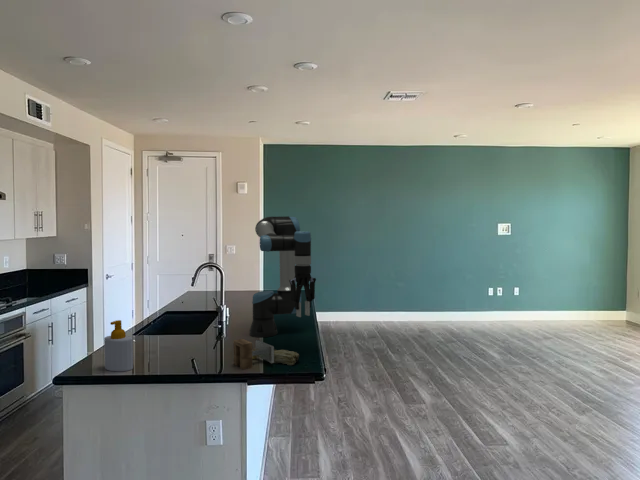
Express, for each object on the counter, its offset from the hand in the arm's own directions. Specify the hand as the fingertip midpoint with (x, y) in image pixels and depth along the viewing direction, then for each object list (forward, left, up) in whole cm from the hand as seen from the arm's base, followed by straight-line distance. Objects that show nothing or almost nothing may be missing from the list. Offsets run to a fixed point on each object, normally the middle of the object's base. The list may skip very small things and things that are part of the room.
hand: (303, 315), depth 209 cm
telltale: (+20, -9, -19) cm, 29 cm away
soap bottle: (+72, -33, -19) cm, 81 cm away
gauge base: (+25, -6, -19) cm, 32 cm away
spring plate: (+23, -2, -17) cm, 29 cm away
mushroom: (+12, +2, -19) cm, 23 cm away
